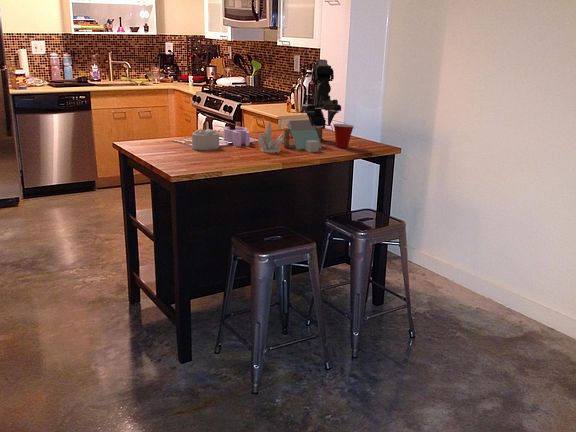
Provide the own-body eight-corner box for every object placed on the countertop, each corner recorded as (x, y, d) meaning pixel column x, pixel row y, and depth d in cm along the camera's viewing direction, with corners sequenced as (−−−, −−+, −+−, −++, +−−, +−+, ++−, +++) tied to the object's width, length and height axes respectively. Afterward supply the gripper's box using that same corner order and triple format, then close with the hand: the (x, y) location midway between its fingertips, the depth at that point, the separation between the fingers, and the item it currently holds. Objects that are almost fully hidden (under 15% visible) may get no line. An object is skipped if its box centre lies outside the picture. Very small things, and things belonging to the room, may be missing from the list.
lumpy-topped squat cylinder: (221, 148, 271) (221, 130, 269) (199, 151, 263) (199, 132, 260) (209, 144, 279) (209, 127, 276) (187, 147, 270) (187, 129, 268)
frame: (283, 147, 279) (284, 128, 276) (318, 145, 288) (319, 127, 285) (285, 148, 278) (286, 129, 275) (320, 146, 286) (321, 128, 283)
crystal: (288, 151, 271) (289, 120, 266) (264, 153, 264) (265, 121, 259) (278, 147, 279) (279, 117, 274) (254, 149, 272) (255, 118, 267)
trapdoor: (286, 124, 281) (288, 120, 278) (310, 123, 287) (313, 119, 284) (294, 152, 276) (297, 148, 273) (319, 150, 282) (321, 146, 279)
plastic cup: (355, 147, 289) (357, 123, 285) (348, 150, 279) (350, 126, 276) (335, 144, 293) (337, 121, 289) (328, 147, 284) (330, 124, 280)
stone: (314, 140, 276) (319, 141, 272) (313, 149, 278) (318, 152, 273) (305, 140, 274) (310, 142, 270) (304, 150, 275) (309, 152, 271)
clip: (255, 146, 281) (255, 132, 278) (232, 147, 276) (232, 133, 273) (241, 138, 298) (242, 126, 296) (219, 139, 293) (219, 126, 291)
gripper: (313, 94, 252) (311, 129, 257) (348, 94, 260) (346, 127, 265) (302, 92, 261) (300, 125, 266) (336, 91, 269) (334, 124, 274)
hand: (320, 125), depth 268 cm, fingers open, 9 cm apart
